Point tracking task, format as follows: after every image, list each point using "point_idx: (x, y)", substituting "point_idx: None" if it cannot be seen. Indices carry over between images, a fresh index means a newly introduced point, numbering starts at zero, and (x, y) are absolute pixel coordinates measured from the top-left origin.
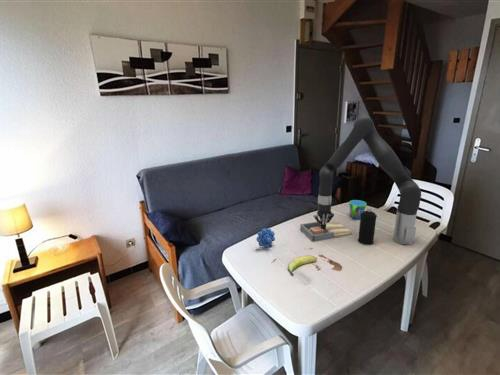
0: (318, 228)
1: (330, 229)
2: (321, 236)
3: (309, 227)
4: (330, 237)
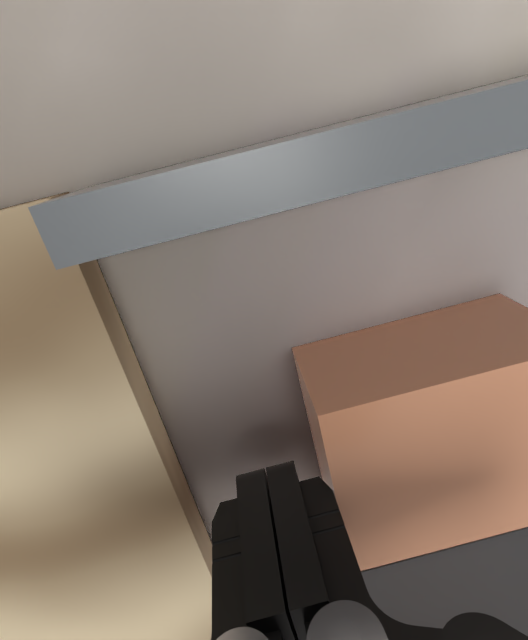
0: (409, 489)
1: (93, 507)
2: (489, 86)
3: (455, 572)
4: (176, 164)
